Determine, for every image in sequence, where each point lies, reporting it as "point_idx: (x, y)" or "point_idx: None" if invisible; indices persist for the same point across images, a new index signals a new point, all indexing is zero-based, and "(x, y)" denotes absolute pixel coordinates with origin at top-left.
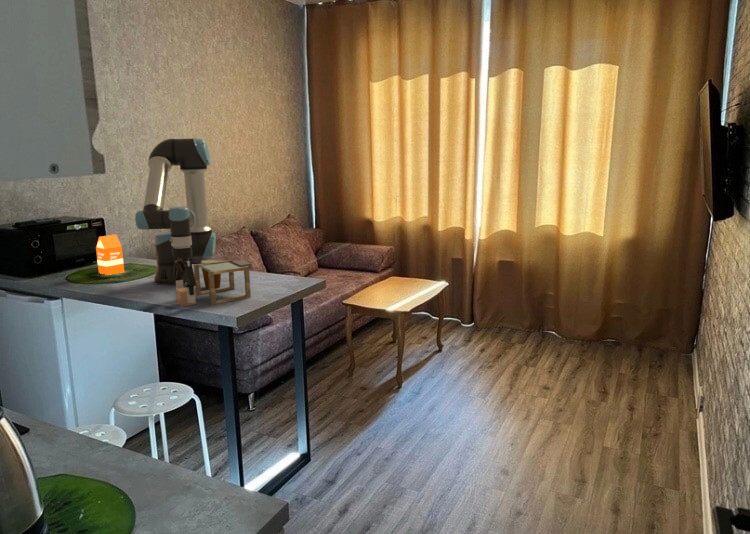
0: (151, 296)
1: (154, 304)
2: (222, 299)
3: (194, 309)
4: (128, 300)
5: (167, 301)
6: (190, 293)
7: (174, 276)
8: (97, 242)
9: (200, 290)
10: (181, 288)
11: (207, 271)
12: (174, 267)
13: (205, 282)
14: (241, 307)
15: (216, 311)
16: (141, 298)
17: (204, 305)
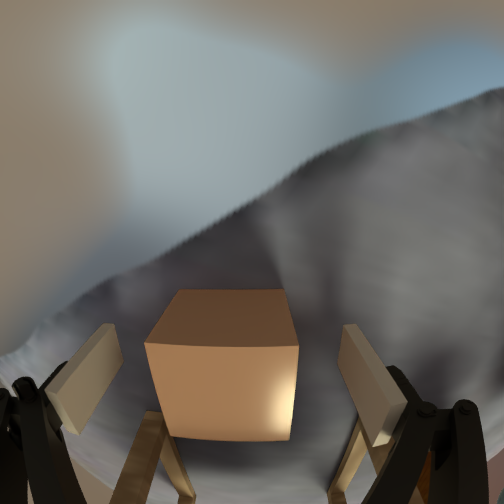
0: (499, 211)
1: (351, 154)
2: (163, 452)
3: (89, 322)
4: (488, 93)
5: (369, 251)
6: (57, 368)
7: (454, 417)
8: None
9: (363, 436)
10: (278, 389)
11: (427, 500)
12: (478, 501)
13: (430, 453)
14: (72, 434)
15: (42, 368)
16: (495, 155)
17: (141, 384)
